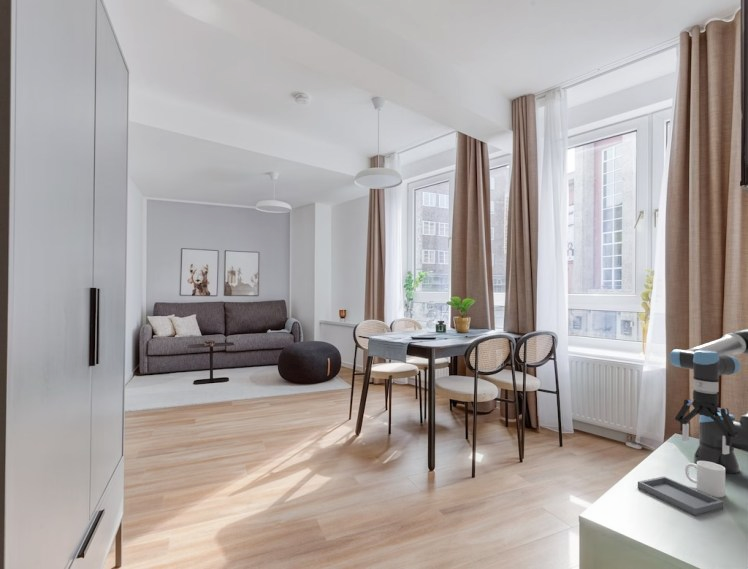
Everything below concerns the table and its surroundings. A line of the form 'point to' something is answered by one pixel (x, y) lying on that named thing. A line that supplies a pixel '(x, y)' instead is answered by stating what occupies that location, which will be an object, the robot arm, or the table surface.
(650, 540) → the table surface
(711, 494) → the cup
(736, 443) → the robot arm
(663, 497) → the grey tray
